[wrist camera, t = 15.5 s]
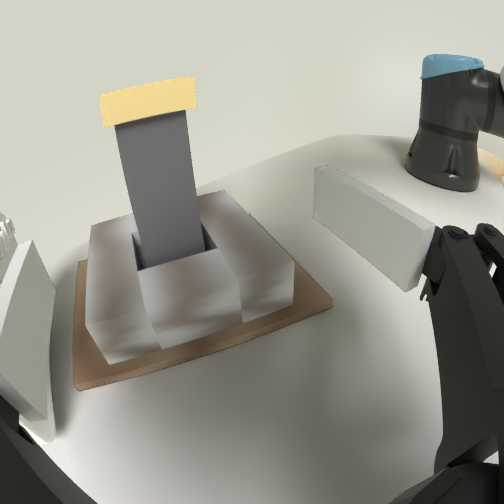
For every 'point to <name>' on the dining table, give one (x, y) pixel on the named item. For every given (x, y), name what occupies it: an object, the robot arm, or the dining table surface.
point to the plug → (158, 165)
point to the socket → (182, 295)
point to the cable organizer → (43, 432)
